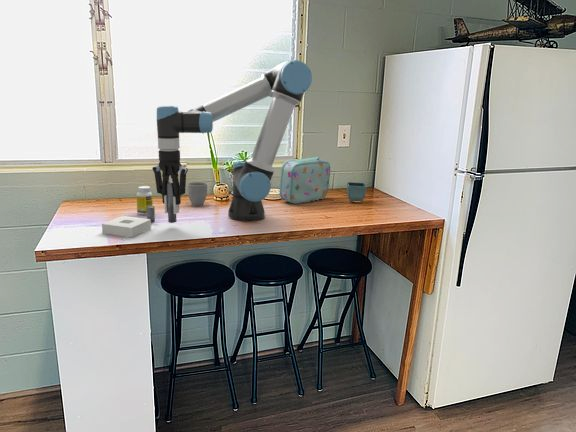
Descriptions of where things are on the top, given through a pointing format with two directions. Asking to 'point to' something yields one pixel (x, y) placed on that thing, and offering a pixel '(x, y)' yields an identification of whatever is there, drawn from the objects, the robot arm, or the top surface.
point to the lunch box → (304, 180)
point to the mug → (197, 193)
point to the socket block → (126, 226)
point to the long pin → (170, 203)
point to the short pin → (151, 213)
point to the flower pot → (356, 191)
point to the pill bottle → (143, 199)
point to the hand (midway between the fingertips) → (172, 212)
